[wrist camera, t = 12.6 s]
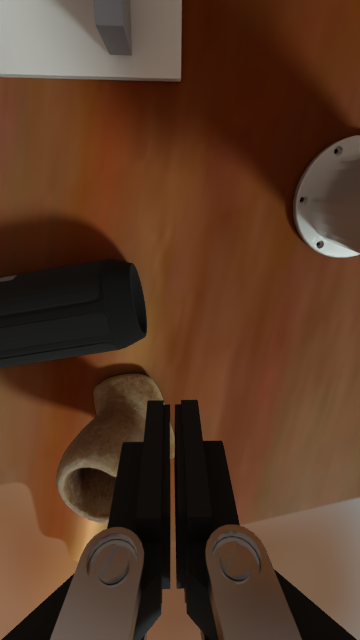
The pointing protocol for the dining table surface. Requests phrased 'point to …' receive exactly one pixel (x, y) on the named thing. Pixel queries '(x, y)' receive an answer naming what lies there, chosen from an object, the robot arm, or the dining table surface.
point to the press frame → (88, 41)
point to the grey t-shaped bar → (114, 25)
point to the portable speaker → (70, 312)
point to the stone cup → (105, 444)
